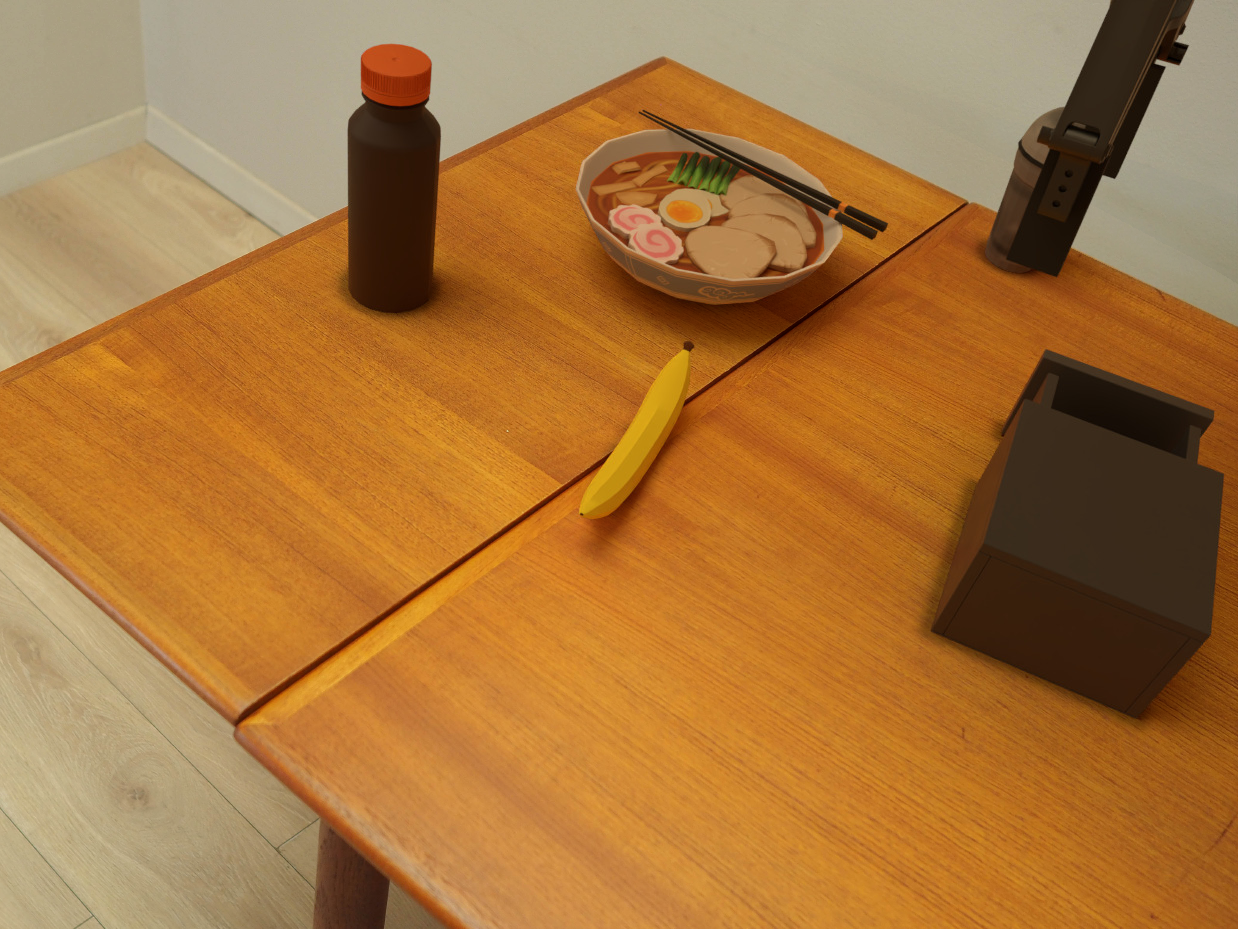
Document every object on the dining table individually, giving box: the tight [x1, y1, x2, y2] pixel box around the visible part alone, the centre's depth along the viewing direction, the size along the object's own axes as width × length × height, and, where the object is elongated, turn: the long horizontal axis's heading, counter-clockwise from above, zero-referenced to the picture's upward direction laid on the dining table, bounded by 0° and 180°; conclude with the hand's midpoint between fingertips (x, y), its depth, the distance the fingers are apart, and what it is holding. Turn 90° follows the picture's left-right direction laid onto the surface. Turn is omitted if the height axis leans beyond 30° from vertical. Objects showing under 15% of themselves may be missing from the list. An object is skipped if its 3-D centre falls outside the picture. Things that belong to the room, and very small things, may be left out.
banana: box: [578, 340, 695, 520], centre depth 82 cm, size 3×19×6 cm, turn 154°
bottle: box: [347, 43, 442, 314], centre depth 88 cm, size 7×7×20 cm
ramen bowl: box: [575, 109, 889, 306], centre depth 100 cm, size 25×23×8 cm
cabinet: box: [930, 399, 1225, 720], centre depth 78 cm, size 16×14×10 cm
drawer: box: [1000, 348, 1215, 464], centre depth 85 cm, size 19×12×8 cm, turn 155°
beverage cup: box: [984, 106, 1086, 274], centre depth 103 cm, size 7×7×20 cm
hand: (1064, 215), depth 65 cm, fingers open, 13 cm apart
